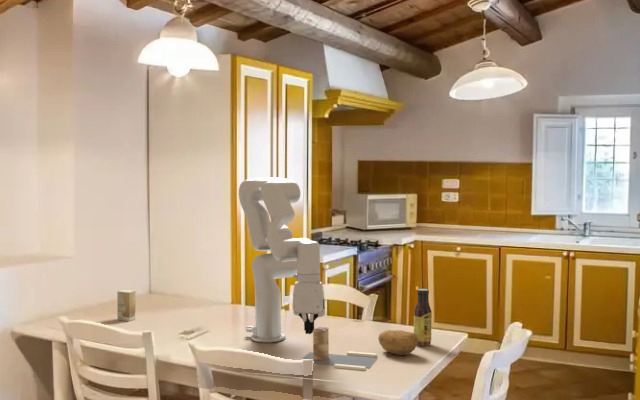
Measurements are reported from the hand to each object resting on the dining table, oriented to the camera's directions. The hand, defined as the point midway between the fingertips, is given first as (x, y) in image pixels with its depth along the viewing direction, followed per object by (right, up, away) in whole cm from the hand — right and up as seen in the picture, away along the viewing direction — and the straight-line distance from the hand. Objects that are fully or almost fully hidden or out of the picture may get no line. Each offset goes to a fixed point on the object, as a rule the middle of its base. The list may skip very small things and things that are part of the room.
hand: (309, 332), depth 234 cm
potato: (+30, -9, +6) cm, 32 cm away
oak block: (+4, -8, -1) cm, 9 cm away
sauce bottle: (+40, -8, +17) cm, 44 cm away
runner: (+10, -9, -2) cm, 13 cm away
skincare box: (-77, -6, +58) cm, 97 cm away
